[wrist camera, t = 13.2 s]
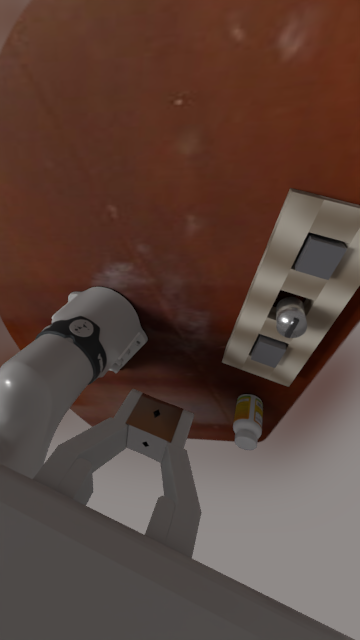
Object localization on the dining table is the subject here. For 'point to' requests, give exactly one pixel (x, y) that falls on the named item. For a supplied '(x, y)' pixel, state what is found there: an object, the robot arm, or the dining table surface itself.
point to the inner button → (268, 350)
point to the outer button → (319, 256)
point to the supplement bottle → (248, 421)
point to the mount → (297, 284)
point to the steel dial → (290, 317)
